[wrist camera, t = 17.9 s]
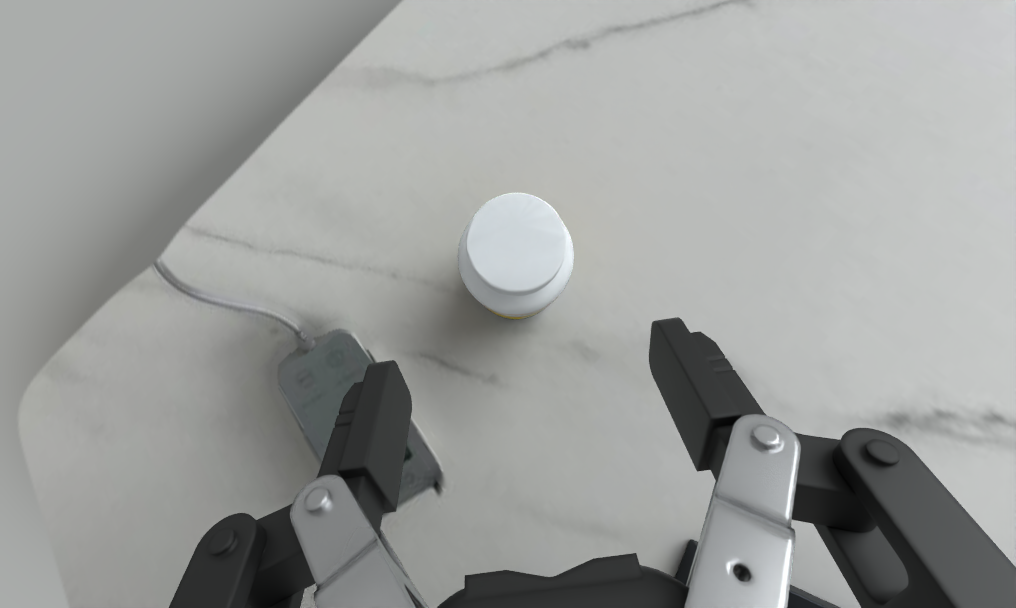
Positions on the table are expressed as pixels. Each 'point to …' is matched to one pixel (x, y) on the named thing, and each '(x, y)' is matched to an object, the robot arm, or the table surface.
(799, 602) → the bracket
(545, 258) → the supplement bottle
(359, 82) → the table surface
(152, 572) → the table surface
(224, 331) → the table surface
